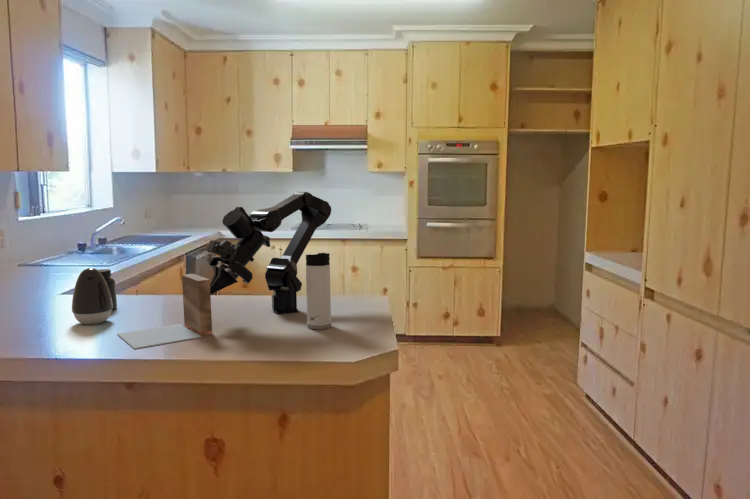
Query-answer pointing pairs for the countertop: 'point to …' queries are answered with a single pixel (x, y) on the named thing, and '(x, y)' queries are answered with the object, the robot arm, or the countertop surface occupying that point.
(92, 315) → the black white egg shape
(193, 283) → the walnut slab
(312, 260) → the travel mug
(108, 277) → the supplement bottle
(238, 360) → the countertop surface
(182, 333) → the mat
